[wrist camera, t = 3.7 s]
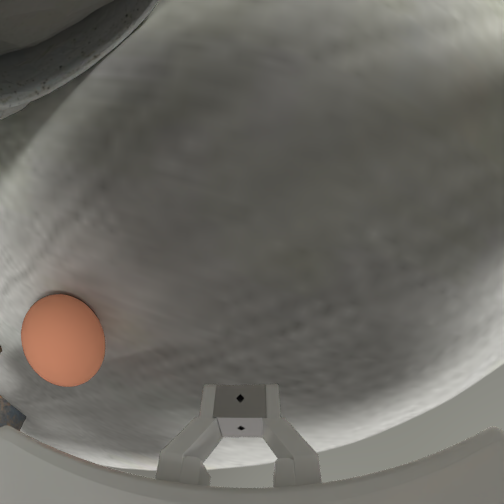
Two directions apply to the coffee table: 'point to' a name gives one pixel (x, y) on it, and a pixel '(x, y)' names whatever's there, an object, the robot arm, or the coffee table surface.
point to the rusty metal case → (10, 415)
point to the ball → (63, 340)
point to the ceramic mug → (58, 42)
